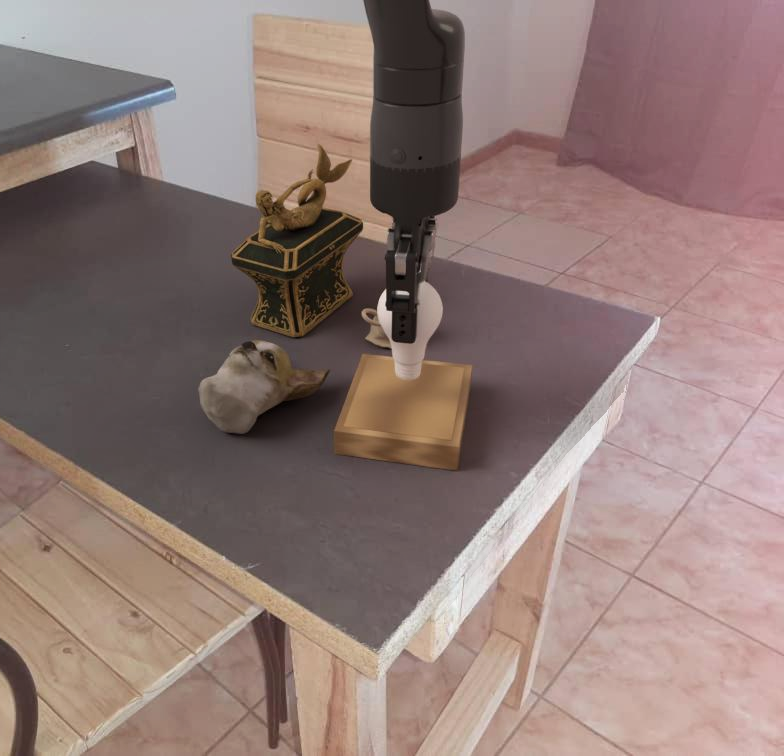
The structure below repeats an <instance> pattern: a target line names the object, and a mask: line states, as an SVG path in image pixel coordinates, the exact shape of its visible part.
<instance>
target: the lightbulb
mask: <svg viewBox="0 0 784 756" xmlns="http://www.w3.org/2000/svg"><path fill="white" fill-rule="evenodd" d="M398 294H401V295H409V293H408V292H406V291H398ZM419 300H420V306H418V313H417V336H416V340H415V342H414V343H412V344H408V343H397V342H394V341H393V340H392V311H387V310H386V307H385V303H386V288H385V289H384V290H383V292H382V293H381V295H380V297H379V300H378V303H377V307H376V311H377V315H378V319H379V323H380V324H381V326H382V328H383V330H384V332H385V333H386V335H387V336H388V338H389V340H390V343H391V347H392V349H391V355H392V356H391V357H393V358H394V360H395V361H394V362H395V374H396V376H397V377H398V378H400V379H402V380H405V381H411V380H414V379H416V378H418V377H419V376H420V372H421V365H422V360H424V358H425V354H426V349H427V345H428V342H429V340H430V339H431V337H432V336H433V335H434V334H435V332H436V331H437V329H438V328H439V326H440V324H441V321H442V318H443V311H444V307H443V302H442V299H441V296H440V294H439V293H438V291H437V290H436V289H435V287H434V286H432V285H431V284H430V283H429V282H428V281H427V282H423V283H421V285H420V294H419Z"/></svg>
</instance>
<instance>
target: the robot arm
mask: <svg viewBox="0 0 784 756" xmlns="http://www.w3.org/2000/svg"><path fill="white" fill-rule="evenodd" d="M362 2H363V6H364V11H365V16H366V19H367V22H368V23H367V24H368V26H369V30H370V34H371V39H372V44H373V52H372V53H373V54H372V55H373V56H372V61H373V62H372V79H373V80H372V105H371V114H370V122H369V123H370V124H369V199H370V201H369V202H370V204H371V205H372V207H373V208H374V209H375V210H377V211H378V212H379V213H382V214H386V215H387V216H390V217H391V218H392V221H391V227H387V234H386V247H387V248H388V249H387V250H386V253H385V254H384V261H385V289H386V303H385V307H386V310H387V311H392V340H393V341H394V342H397V343H408V344H412V343H414V342H415V340H416V336H417V313H418V306H420V300H419V294H420V285H421V283H423V282H427V283H428V278H429V275H428V274H429V272H428V271H430V267H432V260H431V258H433V257H434V255H435V248H436V237H437V232H438V218H436V217H437V216H439V215H442V214H445V213H447V212H449V211H451V210H452V209H453V208H454V207H455V206H456V205H457V203H458V200H459V189H460V174H461V162H462V161H461V158H462V144H463V131H464V115H463V113H464V111H463V80H464V66H465V65H464V64H465V48H466V30H465V27H464V23H463V21H462V19H461V18H460V17H459V16H458V15H456V14H454V13H452V12H451V11H448V10H444V9H437V8H432V5H431V2H430V0H362ZM398 291H406V292H408V293H409V295H401V294H398Z"/></svg>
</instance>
